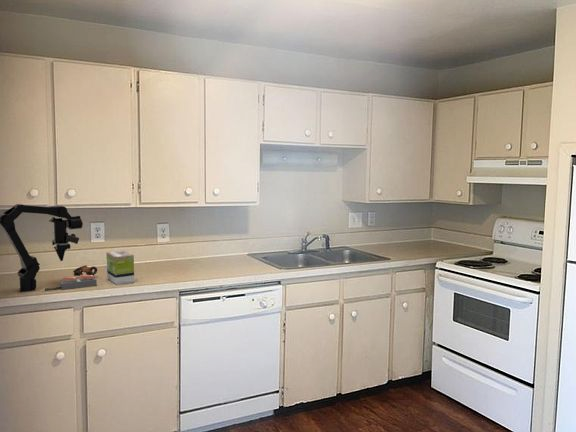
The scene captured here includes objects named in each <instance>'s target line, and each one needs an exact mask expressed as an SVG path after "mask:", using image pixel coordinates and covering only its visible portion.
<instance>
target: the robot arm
mask: <svg viewBox="0 0 576 432" xmlns="http://www.w3.org/2000/svg"><path fill="white" fill-rule="evenodd" d="M24 213H25V214H26V213H29V214H41V215H49V216H51V218H50V219H49V221H48V222H50V223H53V235H54V239H52V240H51V245H52V246H53V249H54V251H55V253H56V254H57V257H58V259H59V261H60V262H63V260H64V257H65V253H66V251H67V250H70V249H71V244H70V243H74V244H76V245H78V243H79V240H80V237H78V236H77V235H76V234H75V233H71V234H69V233H68V230H79V229H82V228H83V227H84V226H83V225H84V223H83V220H82V218H81V216H80V215H74V216H72V215H71V214H70V213H69V211H68V209H67V207H66V206H63V205H59V204H58V205H57V204H56V205H48V206H42V205H30V204H28V205H27V204H22V203H16V204H15V205H14V206H12V207H10V208H8V209H7V210H5V211H4V212H2V213H0V229H1V230H2V231H3V232H4V233H5V234H6V236H7V238H8V240H9V241H10V243H11V245H12V247H13V249H14V250H15V252H16V254H17V256H18V257H19V262H20V266H21V268H20V269H19V270H18V271H17V272H16V273H17V275H18V277H19V278H18V279H19V280H18V281H19V292H21V293H22V292H29V291H35V290H37V280H36V277H37V274H38V272H39V271H40V268H41V267H40V265H41V264H40V263H39V262H38V259H37V257H36V256H33V255H30V253H29V251H28V250H27V249H26V247H25V244H24V243H23V241H22V239H21V238H20V236H19V233H18V232H17V230H16V224H15V220H16V219H17V218H19V217H20V215H22V214H24ZM56 217H57V218H56ZM67 229H68V230H67ZM69 242H70V243H69Z"/></svg>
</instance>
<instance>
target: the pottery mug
mask: <svg viewBox="0 0 576 432" xmlns="http://www.w3.org/2000/svg"><path fill="white" fill-rule="evenodd" d="M93 270H94V271H93ZM72 272H73V276H74V277H80V275H84V274H83V273H85V275H93V276H94V277H95V275H97V272H98V268H97V266H91V267H90V266H89V267H88V266H87V264H86V265H82V266H80V267H77V268H75V269H74V270H73V271H72ZM83 279H86V278H83Z"/></svg>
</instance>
